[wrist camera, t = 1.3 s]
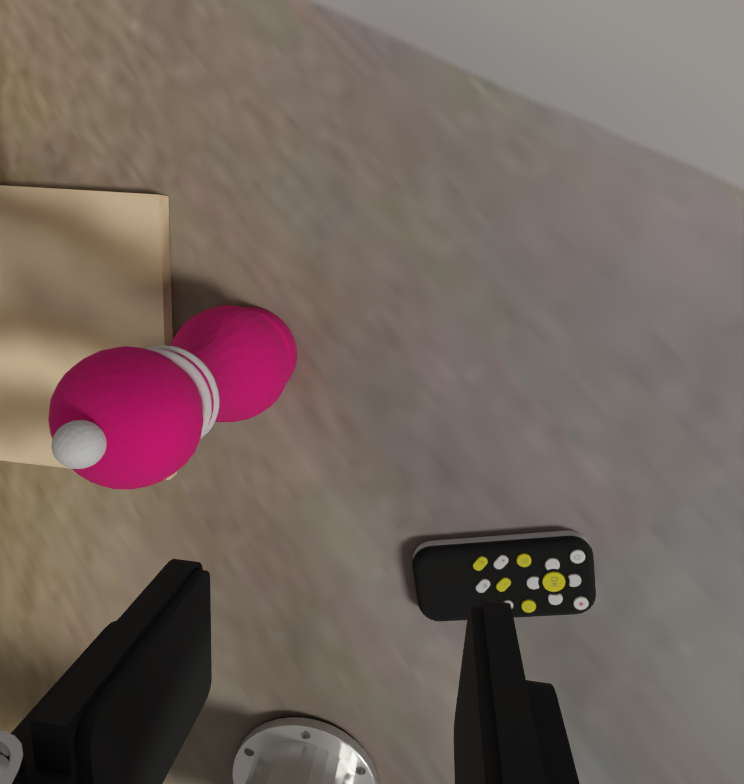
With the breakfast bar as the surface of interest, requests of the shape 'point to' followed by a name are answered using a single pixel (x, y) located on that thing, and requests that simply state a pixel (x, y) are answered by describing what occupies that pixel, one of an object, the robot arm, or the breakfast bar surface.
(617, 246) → the breakfast bar surface
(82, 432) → the pepper mill
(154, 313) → the cutting board
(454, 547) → the remote control
